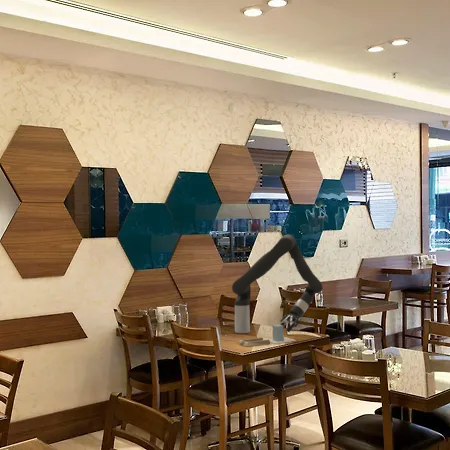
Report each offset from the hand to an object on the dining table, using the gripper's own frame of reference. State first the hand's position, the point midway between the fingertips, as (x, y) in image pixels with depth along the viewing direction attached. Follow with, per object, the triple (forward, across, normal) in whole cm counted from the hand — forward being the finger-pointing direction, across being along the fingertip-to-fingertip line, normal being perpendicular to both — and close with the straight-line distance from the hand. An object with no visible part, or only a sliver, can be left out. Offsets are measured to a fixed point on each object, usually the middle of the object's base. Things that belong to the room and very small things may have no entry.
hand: (283, 330), depth 338 cm
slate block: (+6, 0, +2) cm, 6 cm away
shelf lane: (+18, 0, -10) cm, 20 cm away
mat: (+6, 0, +2) cm, 6 cm away
